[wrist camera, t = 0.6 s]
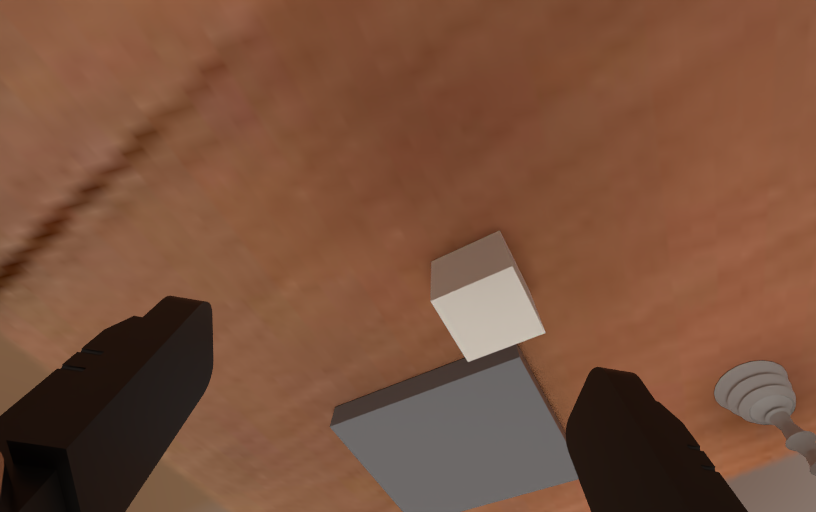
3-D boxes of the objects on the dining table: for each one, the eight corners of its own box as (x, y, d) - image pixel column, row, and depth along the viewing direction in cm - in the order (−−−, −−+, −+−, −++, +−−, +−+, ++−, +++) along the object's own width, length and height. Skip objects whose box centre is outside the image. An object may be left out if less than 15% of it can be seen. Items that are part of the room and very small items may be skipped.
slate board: (514, 339, 31) (519, 356, 29) (577, 455, 36) (585, 477, 34) (335, 407, 35) (329, 426, 33) (414, 503, 40) (413, 524, 38)
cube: (499, 229, 27) (512, 266, 23) (528, 288, 29) (545, 333, 24) (431, 260, 28) (430, 301, 24) (463, 315, 30) (468, 362, 26)
